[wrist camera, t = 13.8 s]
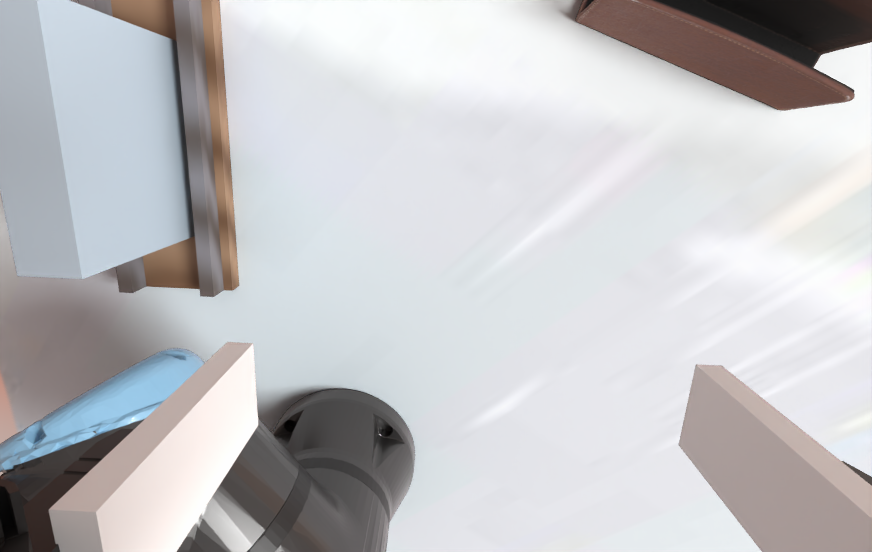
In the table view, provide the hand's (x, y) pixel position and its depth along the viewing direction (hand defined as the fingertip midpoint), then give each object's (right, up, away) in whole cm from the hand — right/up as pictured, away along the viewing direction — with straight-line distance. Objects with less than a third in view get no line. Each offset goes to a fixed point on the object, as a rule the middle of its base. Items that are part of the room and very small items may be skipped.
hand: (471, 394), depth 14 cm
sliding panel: (-24, +15, +26) cm, 39 cm away
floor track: (-24, +15, +28) cm, 40 cm away
